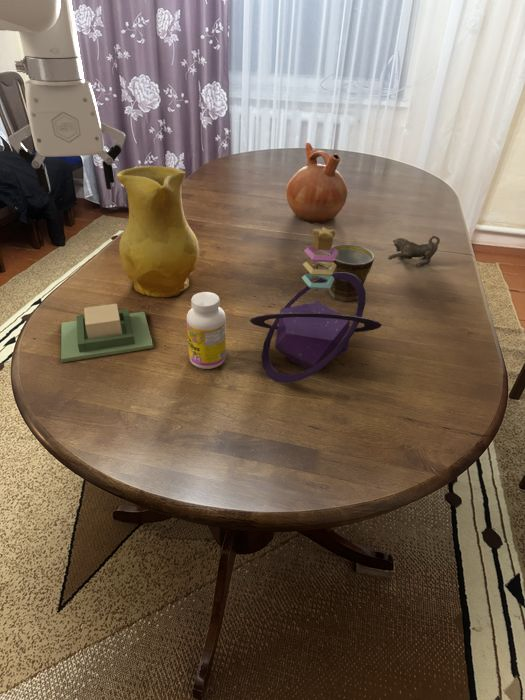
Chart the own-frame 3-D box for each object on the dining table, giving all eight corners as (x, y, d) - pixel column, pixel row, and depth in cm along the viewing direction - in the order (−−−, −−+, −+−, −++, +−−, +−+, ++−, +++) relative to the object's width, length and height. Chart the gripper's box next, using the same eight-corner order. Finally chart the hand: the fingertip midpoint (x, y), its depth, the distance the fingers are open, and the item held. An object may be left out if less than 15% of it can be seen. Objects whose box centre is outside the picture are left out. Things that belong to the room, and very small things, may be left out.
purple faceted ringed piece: (359, 328, 95) (382, 209, 80) (379, 399, 78) (415, 264, 63) (249, 325, 95) (252, 204, 80) (247, 395, 78) (250, 258, 63)
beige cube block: (89, 345, 86) (85, 324, 83) (88, 327, 90) (84, 307, 88) (123, 340, 87) (119, 320, 85) (120, 322, 92) (117, 303, 89)
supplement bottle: (184, 352, 86) (180, 292, 79) (218, 345, 89) (216, 285, 81) (196, 374, 82) (192, 312, 74) (231, 365, 84) (231, 304, 76)
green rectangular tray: (62, 362, 83) (58, 350, 81) (62, 326, 92) (59, 314, 90) (153, 348, 87) (151, 336, 86) (144, 314, 96) (143, 303, 95)
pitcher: (112, 300, 99) (98, 179, 85) (135, 265, 115) (126, 157, 101) (193, 306, 100) (191, 187, 86) (204, 270, 115) (205, 164, 101)
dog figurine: (431, 259, 123) (438, 232, 119) (434, 268, 119) (442, 241, 114) (385, 254, 124) (391, 227, 120) (386, 264, 120) (392, 236, 115)
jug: (273, 210, 147) (277, 142, 135) (321, 202, 154) (328, 138, 142) (304, 231, 134) (312, 159, 122) (354, 222, 142) (366, 153, 129)
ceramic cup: (354, 281, 111) (361, 242, 105) (374, 302, 104) (383, 261, 98) (303, 287, 108) (308, 247, 102) (321, 310, 100) (326, 268, 94)
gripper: (-14, 74, 63) (21, 200, 73) (119, 74, 67) (134, 192, 78) (-7, 67, 68) (24, 185, 78) (115, 68, 73) (129, 179, 83)
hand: (78, 188), depth 78 cm, fingers open, 9 cm apart
